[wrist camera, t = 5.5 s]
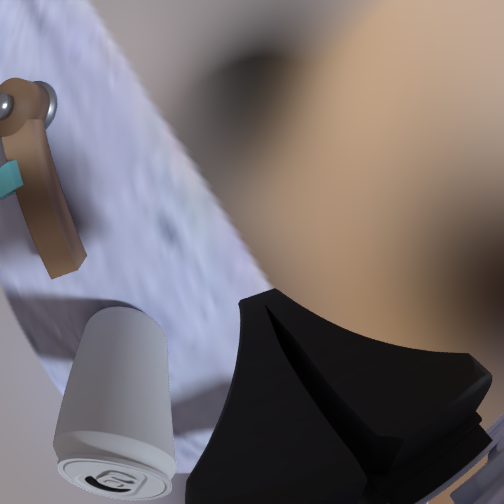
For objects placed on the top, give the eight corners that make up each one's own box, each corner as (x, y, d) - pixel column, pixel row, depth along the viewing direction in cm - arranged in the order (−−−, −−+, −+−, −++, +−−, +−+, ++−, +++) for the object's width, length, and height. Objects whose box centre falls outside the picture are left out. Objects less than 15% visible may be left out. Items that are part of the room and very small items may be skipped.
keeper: (50, 174, 14) (16, 187, 10) (19, 190, 14) (-17, 208, 10) (44, 153, 13) (8, 161, 9) (13, 171, 13) (-24, 184, 9)
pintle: (62, 122, 13) (29, 120, 9) (18, 147, 12) (-20, 154, 9) (52, 72, 11) (19, 58, 7) (8, 98, 11) (-30, 94, 7)
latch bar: (6, 98, 10) (-16, 96, 8) (45, 74, 11) (26, 67, 8) (56, 265, 15) (42, 284, 13) (96, 250, 16) (85, 269, 13)
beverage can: (73, 337, 18) (37, 473, 8) (114, 283, 18) (73, 441, 7) (138, 377, 21) (139, 509, 10) (185, 332, 20) (207, 484, 10)
